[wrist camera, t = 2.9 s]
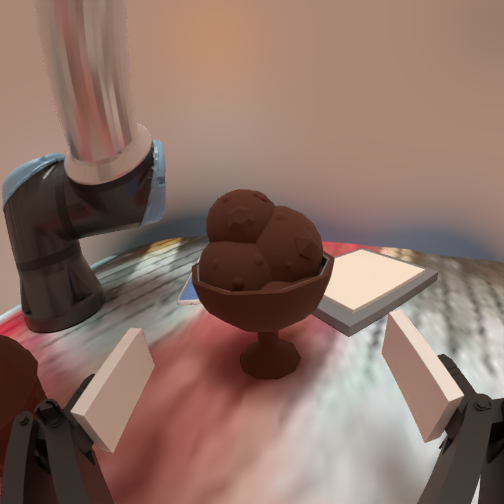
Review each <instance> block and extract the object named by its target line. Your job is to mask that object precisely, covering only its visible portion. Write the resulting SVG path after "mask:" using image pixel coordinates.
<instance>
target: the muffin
mask: <svg viewBox="0 0 504 504" xmlns="http://www.w3.org/2000/svg"><path fill="white" fill-rule="evenodd" d="M37 367H38V362H37V360H36V359H35V358H34V357H33V355H32V354H31V353H30V351H29V350H26V349H25V348H24V347H23V346H22V345H20V344H19V343H18V342H17V341H15V340H13V339H11V338H9V337H7V336H3V335H0V477H1V478H3V470H4V464H5V458H6V452H7V447H8V442H9V438H10V434H11V429H12V425H13V422H14V419H15V417H16V416H17V415H18V414H19V413H20V412H23V411H29V412H31V413H32V414H33V416H34V417H35V418H36V419H39V418H38V416H37V415H36V414H35V408H36V406H37V405H38V404H39V403H40V402H41V401H43V400H45V399H47V397H46V395H45V393H44V390H43V388H42V386H41V383H40V381H39V379H38V376H37ZM34 455H35V456H36V455H37V451H36V450H35V454H34Z"/></svg>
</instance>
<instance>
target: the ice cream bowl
mask: <svg viewBox="0 0 504 504" xmlns="http://www.w3.org/2000/svg"><path fill="white" fill-rule="evenodd" d="M206 222H207V223H206V224H207V225H206V226H207V235H208V238H209V241H210V243H209V244H208V245H207V247H206V248H205V249H204V250H203V252H202V254H201V257H200V260H199V262H198V263H196V264H195V265H193V266H192V284H193V287H194V289H195V291H196V294H197V296H198V298H199V301H200V302H201V303H202V304H203V306H204V307H205V308H206V309H207V311H208V312H209V313H210V314H212V315H214V316H216V317H217V318H219V319H221V320H223V321H224V322H227V323H229V324H231V325H233V326H236V327H238V328H240V329H242V330H245V331H248V332H258V339H259V341H257V342H255V343H253V344H250V345H248V347H247V348H246V349H245V351H244V352H243V353H242V355H241V358H240V361H241V365H242V368H243V371H244V372H246V373H248V374H250V375H252V376H254V377H256V378H257V379H279V378H281V377H283V376H285V375H287V374H289V373H291V372H293V371H295V370H296V368H297V365H298V363H299V361H300V359H301V357H300V355H299V353H298V351H297V349H296V348H295V346H294V344H292V343H290V342H287V341H284V340H282V339H279V338H278V330H281V329H283V328H285V327H288V326H290V325H292V324H294V323H297V322H299V321H301V320H303V319H305V318H306V317H307V316H308V315H310V314H311V313H312V312H313V311H315V310H316V309H317V307H318V305H319V304H320V302H321V300H322V298H323V296H324V293H325V291H326V288H327V286H328V283H329V281H330V278H331V275H332V271H333V266H334V261H335V258H334V257H332V256H331V255H329V254H328V253H326V252H324V251H323V246H322V241H321V236H320V234H319V233H318V231H317V229H316V227H315V226H314V224H313V223H312V222H311V221H310V220H309V219H307V218H306V217H305V216H304V215H303V214H302V213H299V212H297V211H295V210H293V209H290V208H288V207H285V206H274V203H273V202H271V201H270V200H269V199H268V198H267V197H266V195H264V194H263V193H261V192H258V191H251V190H243V189H242V190H241V189H238V190H234V191H231V192H229V193H226V194H225V195H223V196H221V197H220V198H219V199H217V200H216V202H215V203H214V204H213V206H212V207H211V208H210V210H209V213H208V216H207V219H206Z"/></svg>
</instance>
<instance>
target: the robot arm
mask: <svg viewBox="0 0 504 504" xmlns="http://www.w3.org/2000/svg"><path fill="white" fill-rule="evenodd" d="M34 8H35V16H36V24H37V31H38V37H39V42H40V48H41V53H42V58H43V63H44V67H45V71H46V75H47V79H48V83H49V87H50V91H51V95H52V98H53V101H54V105H55V108H56V111H57V115H58V118H59V121H60V124H61V127H62V130H63V132H64V135H65V138H66V141H67V143H68V146H69V150H68V152H67V154H66V156H65V155H64V154H62V153H53V154H49V155H45V156H43V157H41V158H36V159H33V160H31V161H29V162H27V163H25V164H23V165H21V166H19V167H18V168H16V169H14V170H13V171H12V172H11V173H9V174H8V176H7V177H6V178H5V180H4V182H3V185H2V197H3V212H4V214H5V219H6V224H7V229H8V234H9V239H10V243H11V247H12V251H13V255H14V259H15V262H16V266H17V269H18V273H19V277H20V291H21V292H20V293H21V305H22V313H23V316H24V319H25V321H26V323H27V326H28V328H29V329H31V330H33V331H36V332H52V331H57V330H61V329H64V328H67V327H70V326H72V325H75V324H77V323H79V322H81V321H83V320H84V319H86V318H88V317H89V316H91V315H92V314H93V313H95V312H96V311H97V310H98V309H99V308H100V307H101V305H102V304H103V302H104V299H105V297H104V293H103V290H102V287H101V284H100V282H99V281H98V279H97V277H96V276H95V274H94V273H93V271H92V270H91V268H90V266H89V265H88V263H87V262H86V260H85V258H84V257H83V255H82V251H81V247H80V243H79V239H80V238H85V237H89V236H94V235H99V234H104V233H109V232H115V231H120V230H126V229H131V228H140V227H142V226H143V225H146V224H150V223H154V222H157V221H159V220H160V219H161V218H162V217H163V215H164V213H165V206H166V184H165V155H164V147H163V143H162V142H161V141H159V140H154V139H153V140H151V135H150V133H149V131H148V130H147V129H146V127H144V126H143V125H141V124H139V123H137V122H136V116H135V108H134V101H133V93H132V84H131V74H130V63H129V50H128V34H127V0H34ZM382 355H383V357H384V359H385V361H386V362H387V364H388V366H389V368H390V370H391V372H392V374H393V376H394V378H395V380H396V382H397V384H398V386H399V388H400V390H401V392H402V394H403V396H404V398H405V400H406V403H407V405H408V407H409V409H410V411H411V413H412V415H413V417H414V420H415V422H416V424H417V426H418V428H419V431H420V433H421V435H422V438H423V440H424V442H425V443H426V442H429V441H431V440H434V439H437V438H439V437H440V436H441V434H442V433H443V431H444V430H445V431H446V433H447V436H446V438H445V439H444V441H443V442H442V444H441V445H440V447H439V449H441V448H442V449H441V452H440V454H439V457H438V460H437V462H436V465H435V467H434V469H433V472H432V474H431V476H430V479H429V481H428V483H427V485H426V487H425V489H424V491H423V493H422V495H421V497H420V499H419V501H418V503H417V504H471V502H472V499H473V496H474V493H475V490H476V487H477V484H478V481H479V478H480V490H479V499H478V504H504V398H500V399H494V400H492V399H491V398H490V397H489V396H488V395H485V394H477V393H476V392H475V390H474V389H473V388H472V386H471V385H470V383H469V382H468V381H467V379H466V378H465V376H464V375H463V374H461V371H460V370H459V368H457V366H456V364H455V363H454V362H453V360H452V359H451V358H449V357H447V356H446V355H444V354H441V355H438V356H437V355H436V354H435V353H434V351H433V350H432V349H431V347H430V346H429V345H428V343H427V342H426V341H425V339H424V338H423V337H422V336H421V334H420V333H419V332H418V330H417V329H416V328H415V327H414V325H413V324H412V323H411V322H410V320H409V319H408V318H407V317H406V315H405V314H404V313H403V312H402V310H398V311H392V312H389V313H388V320H387V326H386V332H385V338H384V343H383V348H382ZM154 367H155V365H154V362H153V360H152V357H151V354H150V352H149V349H148V346H147V343H146V340H145V337H144V334H143V331H142V328H129V330H128V331H127V332H126V333H125V335H124V336H123V338H122V339H121V340H120V342H119V343H118V344H117V346H116V347H115V348H114V350H113V351H112V352H111V354H110V355H109V357H108V358H107V359H106V361H105V362H104V363H103V365H102V366H101V368H100V369H99V370H98V372H97V373H96V374H91V375H90V376H89V377H87V378H86V379H85V380H84V381H83V383H82V384H81V385H80V388H78V390H77V391H76V393H75V394H74V395H73V397H72V398H71V400H70V401H69V402H68V404H67V405H66V407H65V408H64V410H62V409H61V407H60V406H59V404H58V403H57V402H56V401H55V400H53V399H45V400H43V401H41V402H40V403H39V404H38V405H37V406H36V408H35V414H36V415H37V416H38V418H39V419H36V418H35V417H34V416H33V414H32V413H31V412H29V411H23V412H20V413H19V414H18V415H17V416H16V417H15V419H14V422H13V425H12V429H11V434H10V438H9V442H8V447H7V452H6V458H5V464H4V470H3V478H2V487H1V499H0V504H115V503H114V501H113V499H112V497H111V494H110V492H109V490H108V487H107V485H106V482H105V480H104V477H103V475H102V472H101V470H100V467H99V464H98V461H97V458H96V455H95V452H94V450H93V449H92V448H91V447H92V445H93V443H95V445H96V446H97V447H98V448H99V449H100V450H102V451H106V452H109V453H114V451H115V448H116V446H117V444H118V442H119V440H120V437H121V435H122V433H123V431H124V429H125V427H126V425H127V422H128V420H129V418H130V416H131V414H132V412H133V410H134V408H135V406H136V404H137V402H138V400H139V398H140V395H141V393H142V391H143V389H144V387H145V385H146V383H147V381H148V379H149V377H150V375H151V373H152V371H153V369H154ZM35 450H36V451H37V455H36V456H35V455H34V454H35ZM480 474H481V477H480Z"/></svg>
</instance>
